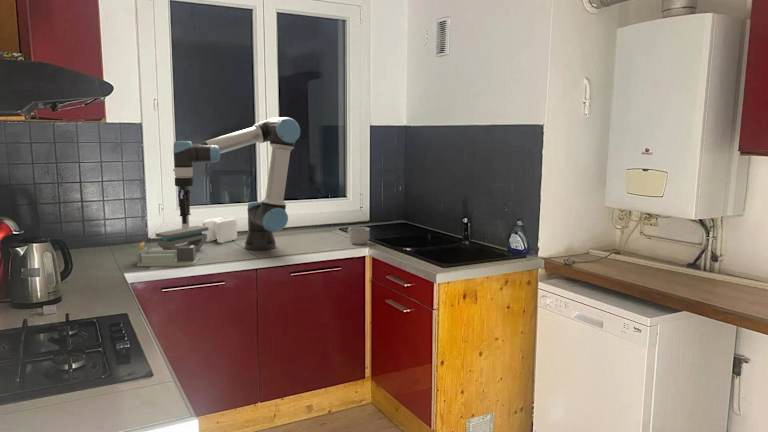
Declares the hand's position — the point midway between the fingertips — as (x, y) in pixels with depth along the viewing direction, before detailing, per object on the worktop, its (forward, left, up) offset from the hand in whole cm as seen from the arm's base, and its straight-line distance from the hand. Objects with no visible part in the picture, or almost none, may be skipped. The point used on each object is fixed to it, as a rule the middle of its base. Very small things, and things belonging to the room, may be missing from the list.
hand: (185, 230), depth 263 cm
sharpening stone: (+6, -20, -15) cm, 25 cm away
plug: (0, 0, -13) cm, 13 cm away
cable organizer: (-7, -47, -15) cm, 50 cm away
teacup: (-79, -38, -15) cm, 89 cm away
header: (+8, 0, -14) cm, 16 cm away
